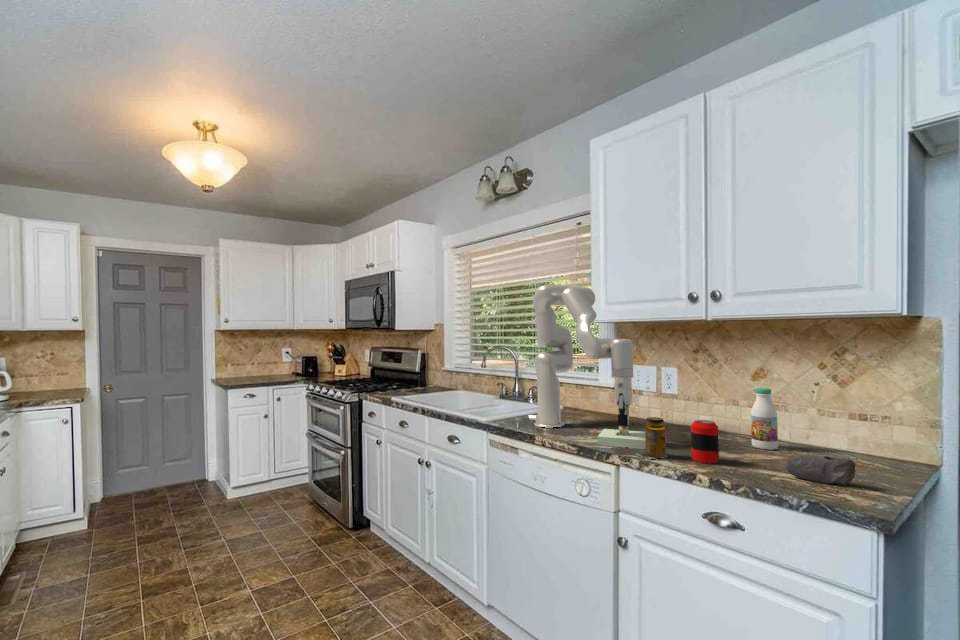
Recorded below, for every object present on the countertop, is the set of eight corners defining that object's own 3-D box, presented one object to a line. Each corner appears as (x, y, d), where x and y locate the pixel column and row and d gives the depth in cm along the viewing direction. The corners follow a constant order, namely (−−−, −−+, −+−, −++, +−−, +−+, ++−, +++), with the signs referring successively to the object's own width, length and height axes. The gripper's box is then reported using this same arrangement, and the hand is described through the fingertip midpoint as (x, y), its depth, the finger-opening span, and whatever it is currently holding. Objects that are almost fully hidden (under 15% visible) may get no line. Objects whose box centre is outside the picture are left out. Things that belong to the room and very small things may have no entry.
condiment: (671, 457, 149) (671, 419, 149) (652, 460, 145) (651, 421, 146) (654, 452, 156) (653, 415, 156) (634, 455, 152) (634, 417, 152)
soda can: (686, 459, 147) (685, 420, 147) (704, 456, 149) (703, 418, 150) (705, 465, 140) (704, 424, 140) (724, 462, 142) (723, 422, 143)
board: (597, 445, 166) (597, 436, 166) (604, 436, 178) (603, 428, 178) (645, 449, 159) (645, 440, 159) (648, 440, 172) (648, 432, 172)
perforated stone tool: (784, 478, 127) (783, 452, 127) (787, 474, 131) (787, 448, 131) (855, 490, 117) (854, 462, 117) (856, 485, 121) (855, 458, 121)
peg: (617, 434, 168) (616, 405, 168) (619, 431, 171) (618, 404, 171) (629, 434, 166) (628, 406, 166) (630, 432, 170) (629, 404, 170)
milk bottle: (751, 443, 165) (750, 386, 165) (777, 446, 161) (776, 387, 161) (751, 448, 158) (749, 389, 159) (778, 451, 154) (777, 390, 155)
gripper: (630, 375, 160) (632, 429, 160) (635, 371, 175) (637, 421, 175) (608, 375, 163) (609, 428, 163) (614, 371, 178) (616, 419, 178)
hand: (623, 423), depth 169 cm, fingers closed on peg, 3 cm apart
